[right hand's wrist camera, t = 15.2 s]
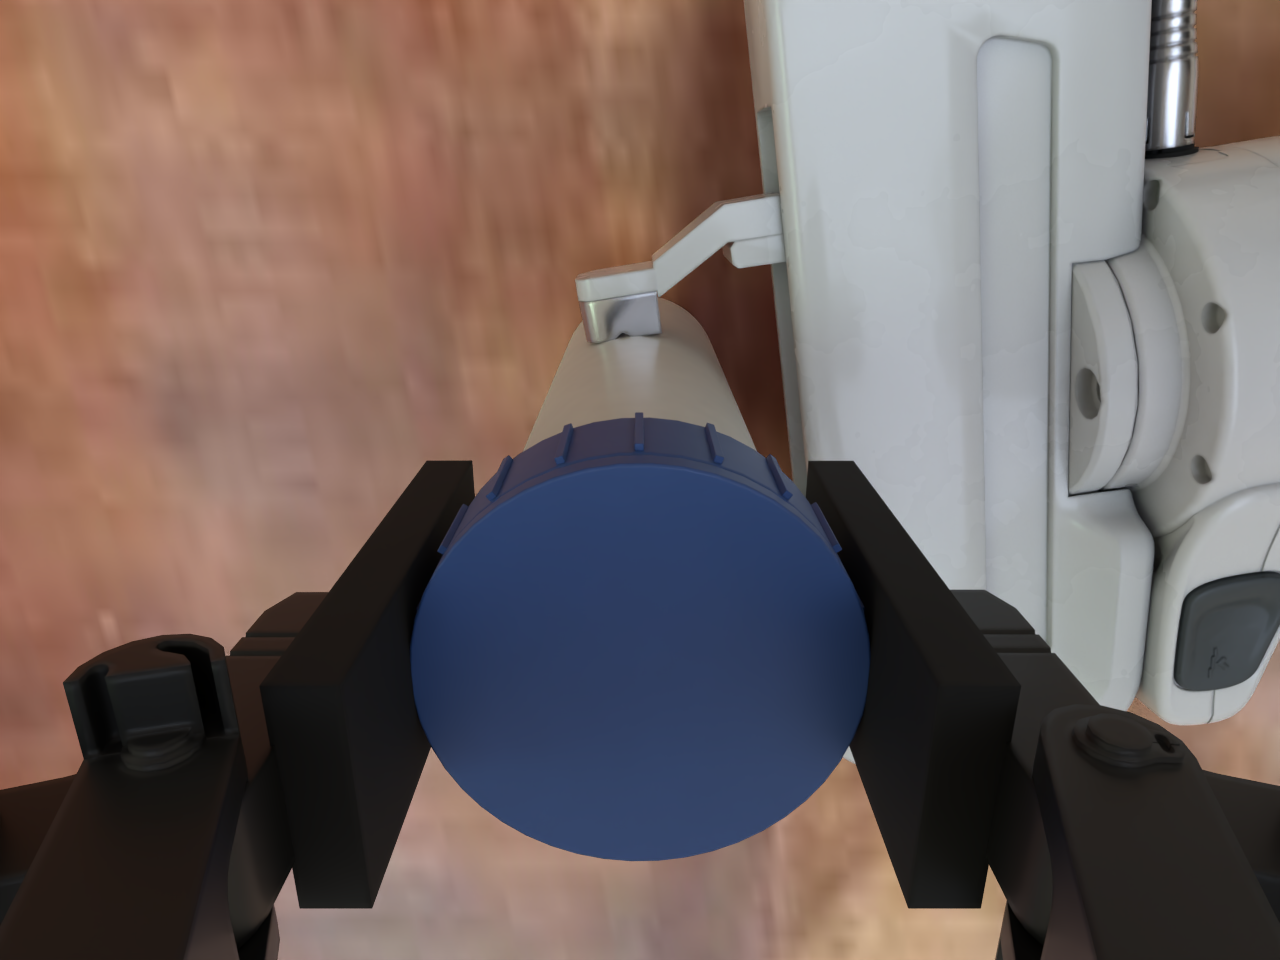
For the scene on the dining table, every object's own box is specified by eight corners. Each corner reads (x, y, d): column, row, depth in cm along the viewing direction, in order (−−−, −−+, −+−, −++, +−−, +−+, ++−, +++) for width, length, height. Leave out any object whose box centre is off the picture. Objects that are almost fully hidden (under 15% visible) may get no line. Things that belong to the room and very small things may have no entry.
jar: (545, 316, 26) (400, 533, 10) (697, 277, 25) (788, 441, 10) (586, 458, 27) (516, 837, 12) (730, 424, 27) (855, 769, 11)
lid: (472, 782, 13) (444, 880, 11) (404, 429, 11) (357, 479, 9) (840, 755, 13) (874, 852, 11) (838, 392, 11) (878, 436, 9)
